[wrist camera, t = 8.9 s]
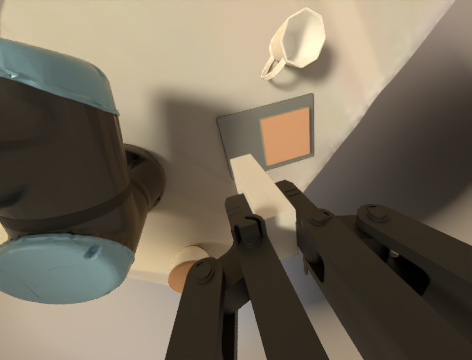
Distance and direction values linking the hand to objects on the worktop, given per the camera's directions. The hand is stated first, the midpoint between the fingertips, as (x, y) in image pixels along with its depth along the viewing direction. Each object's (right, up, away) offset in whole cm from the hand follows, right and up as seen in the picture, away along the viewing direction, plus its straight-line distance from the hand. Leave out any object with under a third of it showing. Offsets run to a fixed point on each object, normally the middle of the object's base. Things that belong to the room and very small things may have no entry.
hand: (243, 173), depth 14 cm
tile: (+5, +7, +26) cm, 28 cm away
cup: (+6, +22, +21) cm, 31 cm away
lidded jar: (-13, -21, +39) cm, 46 cm away
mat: (+7, +8, +28) cm, 30 cm away
